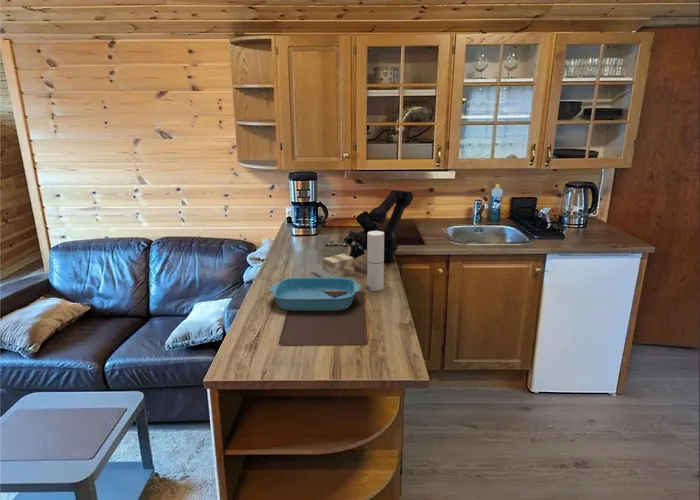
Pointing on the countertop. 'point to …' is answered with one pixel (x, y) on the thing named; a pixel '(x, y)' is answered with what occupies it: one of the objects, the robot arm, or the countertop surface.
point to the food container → (336, 248)
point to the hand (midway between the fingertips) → (349, 260)
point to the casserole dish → (314, 293)
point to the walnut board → (357, 270)
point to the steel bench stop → (323, 271)
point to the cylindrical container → (375, 260)
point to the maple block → (340, 264)
